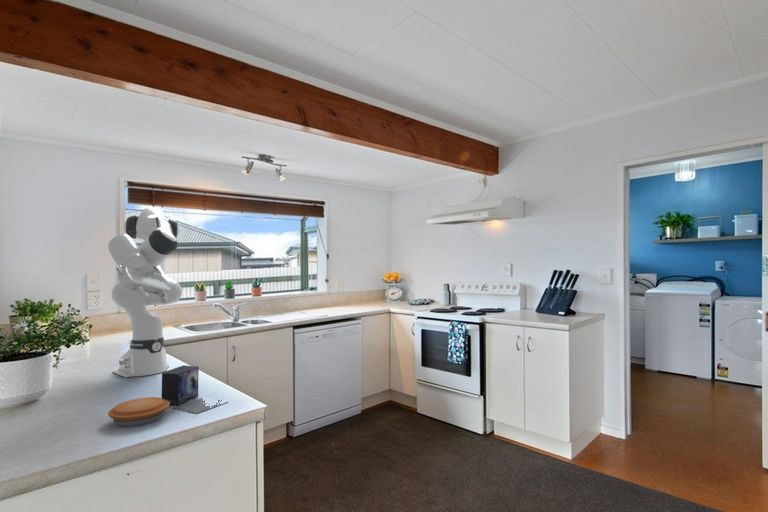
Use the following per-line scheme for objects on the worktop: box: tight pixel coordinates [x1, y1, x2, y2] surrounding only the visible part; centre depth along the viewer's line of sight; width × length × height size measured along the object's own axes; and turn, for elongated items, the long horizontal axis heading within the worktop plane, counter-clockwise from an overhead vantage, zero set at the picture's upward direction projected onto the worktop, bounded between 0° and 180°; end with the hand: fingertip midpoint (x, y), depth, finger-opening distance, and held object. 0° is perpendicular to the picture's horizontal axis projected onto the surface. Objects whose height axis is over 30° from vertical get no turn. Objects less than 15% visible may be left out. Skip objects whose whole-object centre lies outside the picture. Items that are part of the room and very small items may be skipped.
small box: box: [160, 364, 200, 407], centre depth 134 cm, size 11×6×10 cm, turn 168°
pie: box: [107, 396, 170, 428], centre depth 118 cm, size 15×16×5 cm
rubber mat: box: [172, 397, 223, 415], centre depth 130 cm, size 11×12×1 cm
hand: (156, 300), depth 141 cm, fingers open, 8 cm apart
